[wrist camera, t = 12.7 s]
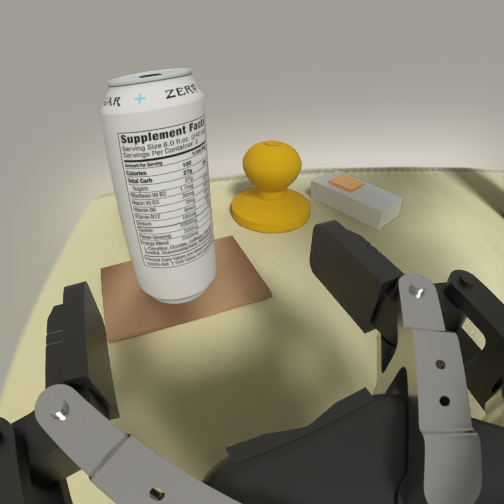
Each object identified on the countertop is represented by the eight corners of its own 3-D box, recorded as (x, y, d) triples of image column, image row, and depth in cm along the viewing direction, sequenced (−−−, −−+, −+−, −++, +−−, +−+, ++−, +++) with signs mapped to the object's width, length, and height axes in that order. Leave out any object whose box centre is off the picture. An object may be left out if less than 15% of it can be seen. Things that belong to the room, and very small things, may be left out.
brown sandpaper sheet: (232, 239, 29) (232, 235, 29) (271, 296, 24) (271, 292, 23) (101, 272, 26) (100, 268, 25) (108, 342, 20) (107, 339, 20)
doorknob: (289, 190, 38) (323, 225, 32) (223, 201, 35) (245, 240, 29) (292, 129, 33) (332, 153, 27) (220, 136, 31) (244, 162, 25)
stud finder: (398, 217, 34) (403, 195, 32) (377, 233, 31) (382, 209, 29) (335, 188, 39) (337, 167, 37) (309, 200, 36) (311, 178, 35)
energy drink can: (204, 249, 27) (189, 65, 19) (229, 295, 23) (216, 69, 14) (135, 267, 26) (98, 80, 17) (147, 318, 21) (93, 88, 12)
